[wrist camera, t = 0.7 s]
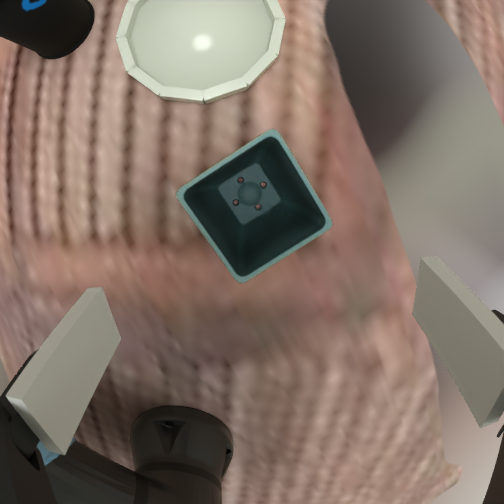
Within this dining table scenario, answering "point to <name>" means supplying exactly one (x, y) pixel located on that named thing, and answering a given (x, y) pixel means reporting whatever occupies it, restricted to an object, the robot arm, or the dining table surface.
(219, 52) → the saucer
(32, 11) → the aerosol can
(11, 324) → the dining table surface
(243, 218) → the flower pot
